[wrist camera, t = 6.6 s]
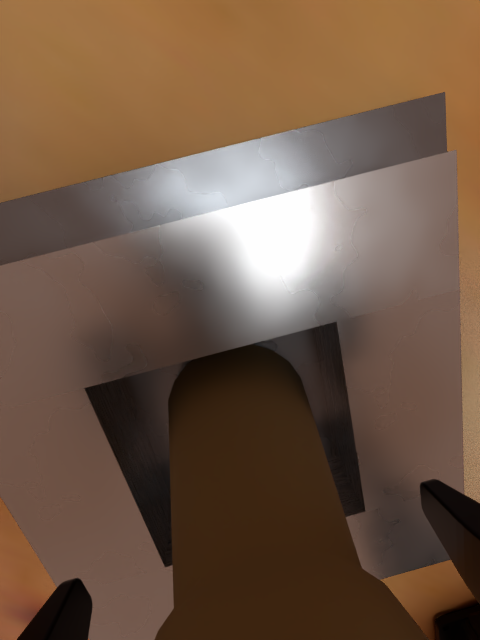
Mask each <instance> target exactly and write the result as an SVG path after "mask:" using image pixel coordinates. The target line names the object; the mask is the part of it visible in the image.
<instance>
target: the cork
mask: <svg viewBox="0 0 480 640" xmlns="http://www.w3.org/2000/svg"><path fill="white" fill-rule="evenodd" d="M168 418H169V454H170V491H171V528H172V564H173V601H174V609H173V610H172V612H171V613H170V614H169V616H168V617H167V619H166V620H165V621H164V623H163V624H162V626H161V627H160V629H159V630H158V632H157V635H156V637H155V640H429V639H428V638H427V637H426V635H425V634H424V633H423V631H422V630H421V629H420V628H419V626H418V625H417V624H416V622H415V621H414V620H413V619H412V617H411V616H410V615H409V613H408V612H407V611H406V610H405V608H404V607H403V606H402V604H401V603H400V602H399V601H398V600H397V598H396V597H395V596H394V595H393V593H392V592H391V591H390V590H389V588H388V587H387V586H386V585H385V583H383V582H382V581H380V580H379V579H377V578H376V577H374V576H373V575H371V574H370V573H368V572H367V571H365V570H364V569H362V567H361V564H360V561H359V557H358V554H357V551H356V548H355V545H354V542H353V539H352V536H351V532H350V529H349V526H348V523H347V520H346V517H345V514H344V511H343V508H342V504H341V501H340V498H339V495H338V492H337V489H336V486H335V483H334V479H333V476H332V473H331V470H330V467H329V464H328V461H327V458H326V455H325V451H324V448H323V445H322V442H321V439H320V436H319V433H318V430H317V426H316V423H315V420H314V417H313V414H312V411H311V408H310V405H309V401H308V398H307V395H306V392H305V389H304V386H303V383H302V380H301V377H300V376H299V375H298V373H297V372H296V370H295V369H294V367H293V366H292V365H291V363H290V362H289V361H287V360H286V359H285V358H283V357H282V356H280V355H279V354H277V353H276V352H275V351H273V350H270V349H267V348H264V347H260V346H257V345H254V344H249V345H246V346H242V347H238V348H234V349H231V350H227V351H223V352H219V353H215V354H212V355H208V356H204V357H200V358H196V359H194V360H193V361H191V362H190V363H188V364H187V365H186V367H185V368H184V369H183V370H182V372H181V373H180V374H179V376H178V377H177V378H176V380H175V381H174V384H173V387H172V390H171V393H170V396H169V399H168Z"/></svg>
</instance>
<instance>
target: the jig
mask: <svg viewBox="0 0 480 640" xmlns="http://www.w3.org/2000/svg"><path fill="white" fill-rule="evenodd" d="M249 344H254V345H257V346H260V347H264V348H267V349H270V350H273V351H275V352H276V353H277V354H279V355H280V356H282V357H283V358H285V359H286V360H287V361H289V362H290V363H291V365H292V366H293V367H294V369H295V370H296V372H297V373H298V375H299V376H300V377H301V380H302V383H303V386H304V389H305V392H306V395H307V398H308V401H309V405H310V408H311V411H312V414H313V417H314V420H315V423H316V426H317V430H318V433H319V436H320V439H321V442H322V445H323V448H324V451H325V455H326V458H327V461H328V464H329V467H330V470H331V473H332V476H333V479H334V483H335V486H336V489H337V492H338V495H339V498H340V501H341V504H342V508H343V511H344V514H345V517H346V520H347V523H348V526H349V529H350V532H351V536H352V539H353V542H354V545H355V548H356V551H357V554H358V557H359V561H360V564H361V567H362V569H364V570H365V571H367V572H368V573H370V574H371V575H373V576H374V577H376V578H377V579H379V580H380V579H384V578H387V577H391V576H394V575H398V574H401V573H405V572H408V571H412V570H415V569H419V568H422V567H426V566H429V565H433V564H436V563H440V562H443V561H447V560H451V559H450V557H449V555H448V554H447V552H446V550H445V549H444V547H443V545H442V544H441V542H440V540H439V538H438V537H437V535H436V533H435V532H434V530H433V528H432V527H431V525H430V523H429V521H428V520H427V518H426V516H425V514H424V512H423V510H422V506H421V496H420V484H421V482H424V481H428V480H431V479H437V480H440V481H441V482H443V483H445V484H447V485H448V486H450V487H452V488H454V489H455V490H457V491H459V492H461V493H462V494H464V466H463V421H462V376H461V331H460V287H459V242H458V197H457V152H456V150H454V151H450V152H447V139H446V106H445V92H443V93H439V94H435V95H431V96H427V97H423V98H419V99H415V100H411V101H407V102H403V103H399V104H395V105H391V106H387V107H383V108H379V109H375V110H371V111H367V112H363V113H359V114H355V115H351V116H347V117H343V118H339V119H335V120H331V121H327V122H323V123H319V124H315V125H311V126H307V127H303V128H299V129H295V130H291V131H287V132H283V133H279V134H275V135H271V136H267V137H263V138H259V139H255V140H251V141H247V142H243V143H239V144H235V145H231V146H227V147H223V148H219V149H215V150H211V151H207V152H203V153H199V154H195V155H191V156H187V157H183V158H179V159H175V160H171V161H167V162H163V163H159V164H155V165H151V166H147V167H143V168H138V169H134V170H130V171H126V172H122V173H118V174H114V175H110V176H106V177H102V178H98V179H94V180H90V181H86V182H82V183H78V184H74V185H70V186H66V187H62V188H58V189H54V190H50V191H46V192H42V193H38V194H34V195H30V196H26V197H22V198H18V199H14V200H10V201H6V202H2V203H0V497H1V498H2V500H3V501H4V503H5V505H6V506H7V508H8V509H9V511H10V513H11V514H12V516H13V517H14V519H15V521H16V522H17V524H18V526H19V527H20V529H21V530H22V532H23V534H24V535H25V537H26V538H27V540H28V542H29V543H30V545H31V546H32V548H33V550H34V551H35V553H36V554H37V556H38V558H39V559H40V561H41V562H42V564H43V566H44V567H45V569H46V570H47V572H48V574H49V575H50V577H51V578H52V580H53V582H54V583H55V585H56V586H57V587H58V586H59V585H60V584H61V583H62V582H64V581H67V580H70V579H74V578H79V579H81V580H82V582H83V584H84V585H85V587H86V589H87V591H88V592H89V594H90V596H91V598H92V604H93V607H92V615H91V622H90V629H89V635H88V638H89V639H90V640H155V637H156V635H157V632H158V630H159V629H160V627H161V626H162V624H163V623H164V621H165V620H166V619H167V617H168V616H169V614H170V613H171V612H172V610H173V609H174V601H173V564H172V528H171V491H170V454H169V418H168V399H169V396H170V393H171V390H172V387H173V384H174V381H175V380H176V378H177V377H178V376H179V374H180V373H181V372H182V370H183V369H184V368H185V367H186V365H187V364H188V363H190V362H191V361H193V360H194V359H196V358H200V357H204V356H208V355H212V354H215V353H219V352H223V351H227V350H231V349H234V348H238V347H242V346H246V345H249Z"/></svg>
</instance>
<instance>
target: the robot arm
mask: <svg viewBox="0 0 480 640" xmlns="http://www.w3.org/2000/svg"><path fill="white" fill-rule="evenodd" d="M420 496H421V506H422V510H423V512H424V514H425V516H426V518H427V520H428V521H429V523H430V525H431V527H432V528H433V530H434V532H435V533H436V535H437V537H438V538H439V540H440V542H441V544H442V545H443V547H444V549H445V550H446V552H447V554H448V555H449V557H450V559H451V560H452V562H453V564H454V566H455V567H456V569H457V571H458V572H459V574H460V576H461V577H462V579H463V580H464V582H465V584H466V585H467V587H468V588H469V589H470V591H471V592H472V594H473V595H474V597H475V598H476V600H477V601H478V602H479V604H480V503H478V502H476V501H475V500H473V499H471V498H469V497H468V496H466V495H464V494H462V493H461V492H459V491H457V490H455V489H454V488H452V487H450V486H448V485H447V484H445V483H443V482H441V481H440V480H437V479H431V480H428V481H424V482H421V484H420ZM92 607H93V604H92V598H91V596H90V594H89V592H88V591H87V589H86V587H85V585H84V584H83V582H82V580H81V579H79V578H74V579H70V580H67V581H64V582H62V583H61V584H60V585H59V586H58V587H57V588H56V590H55V591H54V592H53V594H52V595H51V596H50V597H49V599H48V600H47V601H46V603H45V604H44V605H43V606H42V608H41V609H40V610H39V612H38V613H37V614H36V615H35V617H34V618H33V619H32V621H31V622H30V623H29V624H28V626H27V627H26V628H25V630H24V631H23V632H22V633H21V635H20V636H19V637H18V639H17V640H88V635H89V629H90V622H91V615H92ZM435 635H436V640H480V605H478V606H475V607H471V608H468V609H464V610H461V611H457V612H454V613H451V614H447V615H444V616H441V617H438V618H437V619H436V620H435Z"/></svg>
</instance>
